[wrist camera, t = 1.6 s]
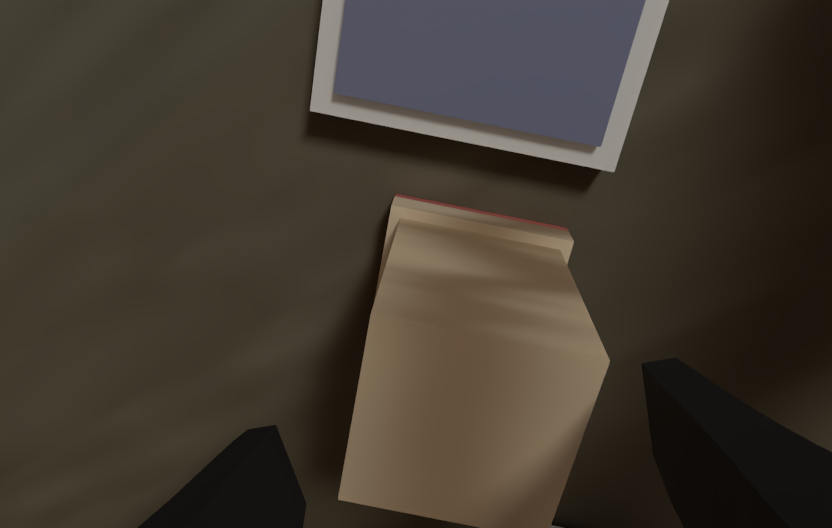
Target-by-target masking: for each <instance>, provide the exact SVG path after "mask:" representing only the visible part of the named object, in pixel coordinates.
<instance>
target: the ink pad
mask: <svg viewBox="0 0 832 528" xmlns="http://www.w3.org/2000/svg"><path fill="white" fill-rule="evenodd" d="M668 2H669V0H323V2H322V11H321V19H320V28H319V36H318V45H317V53H316V62H315V71H314V79H313V88H312V96H311V105H310V111H312V112H317V113H322V114H327V115H332V116H337V117H342V118H347V119H352V120H357V121H362V122H367V123H372V124H377V125H382V126H387V127H392V128H397V129H402V130H407V131H412V132H417V133H422V134H426V135H431V136H436V137H441V138H446V139H451V140H456V141H461V142H466V143H471V144H476V145H481V146H486V147H491V148H496V149H501V150H506V151H511V152H516V153H521V154H526V155H531V156H536V157H540V158H545V159H550V160H555V161H560V162H565V163H570V164H575V165H580V166H585V167H590V168H595V169H600V170H605V171H610V172H614V171H615V168H616V165H617V162H618V159H619V156H620V153H621V149H622V146H623V143H624V140H625V137H626V134H627V131H628V127H629V124H630V121H631V118H632V115H633V112H634V109H635V105H636V102H637V99H638V96H639V93H640V90H641V87H642V84H643V80H644V77H645V74H646V71H647V68H648V65H649V62H650V58H651V55H652V52H653V49H654V46H655V43H656V40H657V37H658V33H659V30H660V27H661V24H662V21H663V18H664V15H665V11H666V8H667V5H668Z"/></svg>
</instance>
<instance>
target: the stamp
mask: <svg viewBox="0 0 832 528" xmlns="http://www.w3.org/2000/svg"><path fill="white" fill-rule="evenodd" d="M573 244H574V241H573V239H572V237H571V235H570V233H569V231H568V229H567V228H564V227H559V226H554V225H549V224H544V223H539V222H534V221H529V220H524V219H519V218H514V217H509V216H504V215H499V214H494V213H490V212H485V211H480V210H475V209H470V208H465V207H460V206H455V205H450V204H445V203H440V202H435V201H430V200H425V199H420V198H415V197H410V196H405V195H400V194H395V197H394V200H393V202H392V205H391V210H390V216H389V222H388V227H387V233H386V238H385V244H384V250H383V255H382V261H381V266H380V272H379V278H378V283H377V289H376V295H375V300H374V305H373V308H372V311H371V315H370V321H369V327H368V332H367V338H366V343H365V349H364V355H363V360H362V366H361V372H360V377H359V383H358V389H357V394H356V400H355V406H354V411H353V417H352V422H351V428H350V434H349V439H348V445H347V451H346V456H345V462H344V468H343V473H342V479H341V485H340V490H339V496H338V500H342V501H347V502H352V503H358V504H363V505H368V506H373V507H378V508H383V509H388V510H393V511H398V512H403V513H408V514H413V515H418V516H423V517H429V518H434V519H439V520H444V521H449V522H454V523H459V524H464V525H469V526H474V527H479V528H550V526H551V524H552V521H553V518H554V515H555V513H556V510H557V507H558V504H559V502H560V499H561V496H562V493H563V490H564V488H565V485H566V482H567V479H568V477H569V474H570V471H571V468H572V465H573V463H574V460H575V457H576V454H577V452H578V449H579V446H580V443H581V440H582V438H583V435H584V432H585V429H586V427H587V424H588V421H589V418H590V416H591V413H592V410H593V407H594V404H595V402H596V399H597V396H598V393H599V391H600V388H601V385H602V382H603V379H604V377H605V374H606V371H607V368H608V366H609V363H610V360H609V358H608V356H607V353H606V351H605V349H604V347H603V344H602V342H601V340H600V338H599V335H598V333H597V331H596V329H595V327H594V324H593V322H592V320H591V318H590V315H589V313H588V311H587V309H586V306H585V304H584V302H583V300H582V298H581V295H580V293H579V291H578V289H577V286H576V284H575V282H574V280H573V277H572V275H571V273H570V271H569V269H568V266H567V263H568V260H569V257H570V253H571V250H572V247H573Z"/></svg>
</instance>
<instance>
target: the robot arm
mask: <svg viewBox="0 0 832 528" xmlns="http://www.w3.org/2000/svg"><path fill="white" fill-rule="evenodd" d="M642 370H643V378H644V386H645V394H646V402H647V410H648V418H649V426H650V434H651V441H652V449H653V455H654V457H655V460H656V463H657V465H658V468H659V471H660V474H661V476H662V479H663V482H664V484H665V487H666V490H667V492H668V495H669V497H670V500H671V503H672V505H673V507H674V509H675V511H676V513H677V514H678V516H679V518H680V520H681V522H682V524H683V526H684V528H832V452H830V451H828V450H826V449H824V448H822V447H820V446H818V445H816V444H814V443H813V442H811V441H809V440H807V439H805V438H803V437H802V436H800V435H798V434H796V433H794V432H792V431H791V430H789V429H787V428H785V427H783V426H782V425H780V424H778V423H776V422H775V421H773V420H771V419H770V418H768V417H766V416H764V415H763V414H761V413H759V412H758V411H756V410H755V409H753V408H751V407H750V406H748V405H747V404H745V403H743V402H742V401H740V400H739V399H737V398H735V397H734V396H732V395H731V394H729V393H728V392H726V391H725V390H723V389H722V388H720V387H719V386H717V385H716V384H714V383H713V382H711V381H710V380H708V379H707V378H705V377H704V376H702V375H701V374H700V373H698V372H697V371H695V370H694V369H692V368H691V367H689V366H688V365H686V364H685V363H683V362H682V361H680V360H679V359H677V358H671V359H665V360H659V361H654V362H648V363H642ZM305 509H306V502H305V499H304V497H303V494H302V491H301V489H300V486H299V484H298V481H297V478H296V476H295V473H294V471H293V468H292V465H291V463H290V460H289V458H288V455H287V452H286V450H285V447H284V445H283V442H282V440H281V437H280V434H279V432H278V429H277V427H276V425H272V426H266V427H260V428H254V429H248V430H247V431H246V432H244V433H243V434H242V435H240V436H239V437H238V438H237V439H236V440H234V441H233V442H232V443H231V444H230V445H229V446H228V447H226V448H225V449H224V450H223V451H222V452H221V453H220V454H219V455H218V456H217V457H216V458H214V459H213V460H212V461H211V462H210V463H209V464H208V465H207V466H206V467H205V468H204V469H203V470H202V471H201V472H199V473H198V474H197V475H196V476H195V477H194V478H193V479H192V480H191V481H190V482H189V483H188V484H187V485H185V486H184V487H183V488H182V489H181V490H180V491H179V492H178V493H177V494H176V495H175V496H174V497H172V498H171V499H170V500H169V501H168V502H167V503H166V504H165V505H163V506H162V507H161V508H160V509H159V510H158V511H157V512H155V513H154V514H153V515H152V516H151V517H150V518H148V519H147V520H146V521H145V522H144V523H143V524H142V525H140V526H139V527H138V528H303V523H304V516H305Z"/></svg>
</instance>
